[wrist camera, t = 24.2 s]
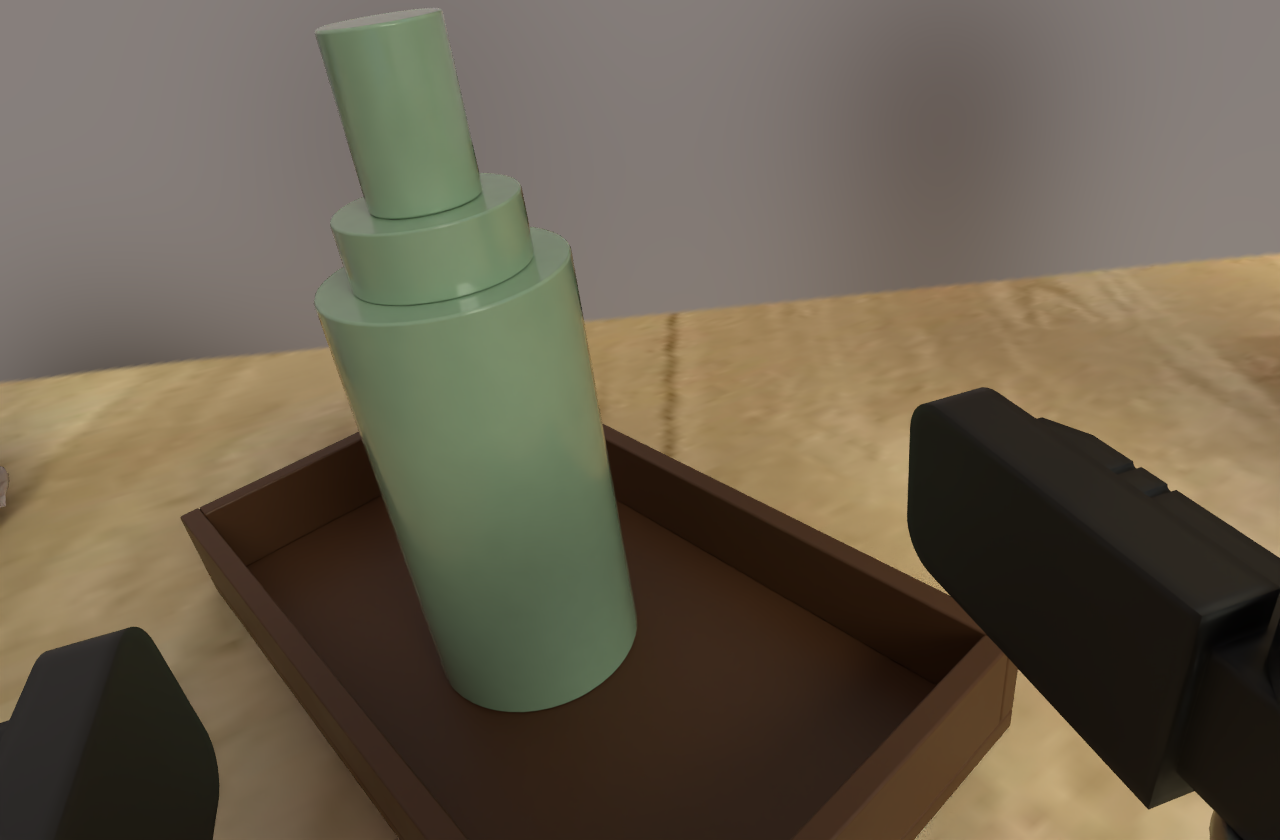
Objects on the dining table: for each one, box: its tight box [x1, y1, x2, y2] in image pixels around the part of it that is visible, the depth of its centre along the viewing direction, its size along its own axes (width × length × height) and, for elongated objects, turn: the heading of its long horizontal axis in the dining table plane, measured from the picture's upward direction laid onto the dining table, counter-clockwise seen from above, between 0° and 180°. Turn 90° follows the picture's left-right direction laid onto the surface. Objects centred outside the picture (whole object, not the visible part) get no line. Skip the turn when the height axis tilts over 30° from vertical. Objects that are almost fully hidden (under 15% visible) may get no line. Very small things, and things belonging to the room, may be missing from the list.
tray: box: [181, 424, 1018, 840], centre depth 24 cm, size 12×22×3 cm, turn 42°
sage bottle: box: [314, 8, 637, 712], centre depth 20 cm, size 6×6×16 cm
